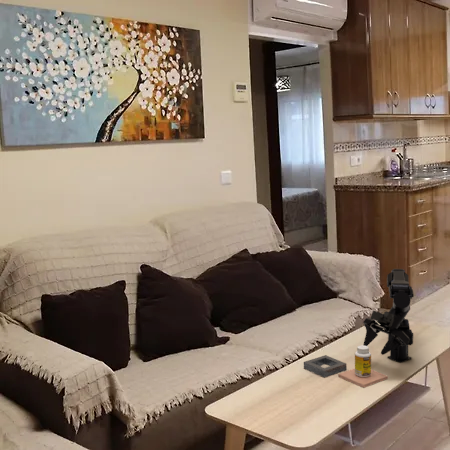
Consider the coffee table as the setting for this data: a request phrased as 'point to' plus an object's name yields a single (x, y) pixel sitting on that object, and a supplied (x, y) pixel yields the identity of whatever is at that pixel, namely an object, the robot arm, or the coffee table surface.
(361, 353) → the supplement bottle
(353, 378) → the tile
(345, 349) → the coffee table surface
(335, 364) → the frame
